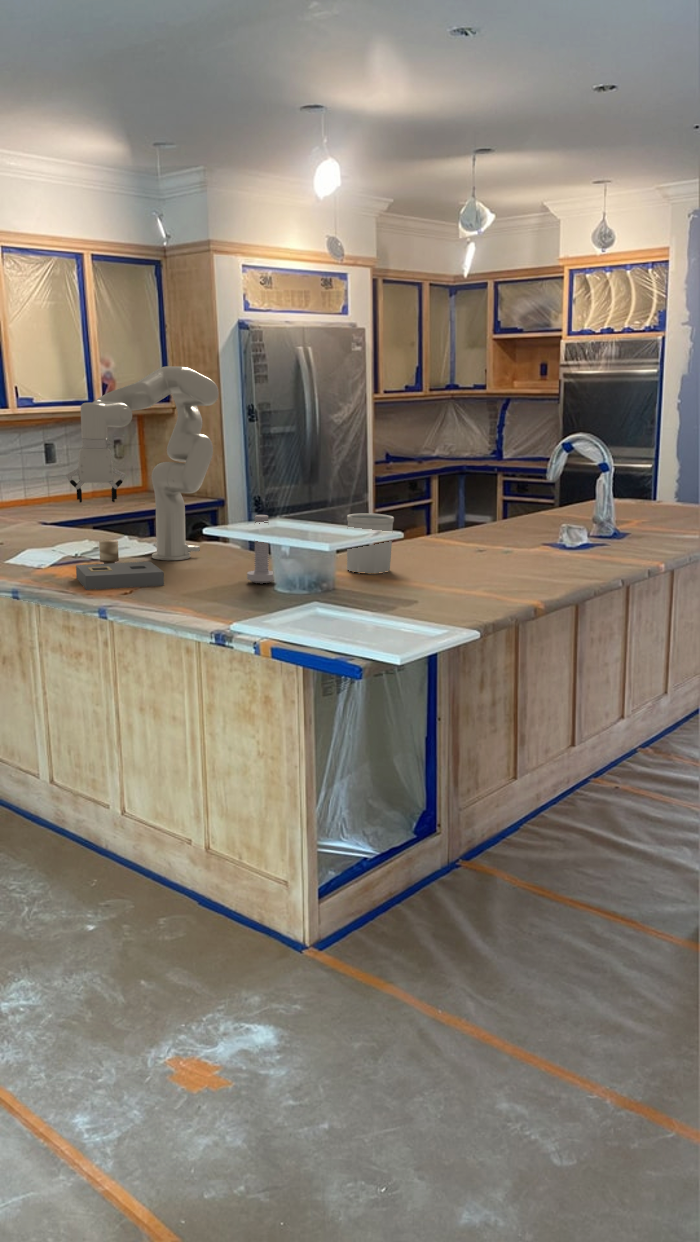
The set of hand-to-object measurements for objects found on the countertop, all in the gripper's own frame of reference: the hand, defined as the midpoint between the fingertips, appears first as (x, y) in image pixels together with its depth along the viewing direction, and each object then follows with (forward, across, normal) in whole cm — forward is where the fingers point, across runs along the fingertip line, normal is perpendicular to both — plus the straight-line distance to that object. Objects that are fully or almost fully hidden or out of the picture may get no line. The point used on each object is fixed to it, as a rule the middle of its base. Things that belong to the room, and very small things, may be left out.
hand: (97, 501), depth 305 cm
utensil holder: (+22, -83, +13) cm, 87 cm away
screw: (+22, -45, +27) cm, 57 cm away
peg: (+21, -3, +2) cm, 22 cm away
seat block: (+21, -5, +18) cm, 28 cm away
